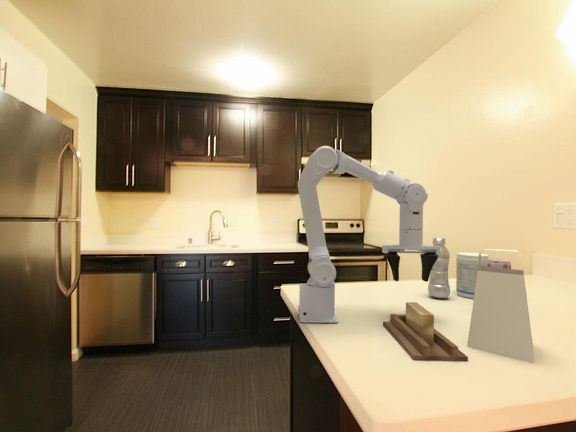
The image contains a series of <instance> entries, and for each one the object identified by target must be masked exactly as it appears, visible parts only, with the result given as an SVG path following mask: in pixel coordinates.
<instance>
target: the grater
mask: <svg viewBox="0 0 576 432" xmlns="http://www.w3.org/2000/svg"><path fill="white" fill-rule="evenodd" d="M485 250H486V251H498V252H499V251H500V252H501V251H502V252H515V253H516V252H517V253H518V254H519V255H520V256H521V257H524V255H523V253H521V252H520V251H519V250H517V249H500V248H484V249H483V250H482V252H484V251H485ZM482 252H479V253H480V254H479V270H478V272H477V279H476V286H475V294H474V299H473V302H472V309H471V316H470V324H469V331H468V337H467V344H466V345H467V346H466V347H467V348H470V349H474V350H479V351H482V352H485V353H489V354H494V355H499V356H501V357H502V356H503V357H505V358H510V359H514V360H518V361H522V362H524V363H525V362H527V363H530V364H534V363H535V361H534V345H533V344H534V343H533V335H532V330H531V329H532V328H531V320H530V312H529V304H528V296H527V287H526V281H525V272H524V269H513V268H511V269H504V268H494V267H483V266H482V267H481V254H482Z"/></svg>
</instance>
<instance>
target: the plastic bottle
mask: <svg viewBox="0 0 576 432" xmlns="http://www.w3.org/2000/svg"><path fill="white" fill-rule="evenodd" d="M445 245H446V238H443V237H442V238H441V237H440V238H439V237H433V239H432V246H439V247H440V254H436V255H438V259H437V261H436V262H435V264H434V265H433V267H432V270H431V272H430V275H429V279H428V284H427V285H428V286H427V291H428V295H429V296H430V297H432V298H436V299H440V300H441V299H448V298H449V297H450V295H451V287H450V285H449V283H450V282H449V265H450V258H451V254H450V251H449V249H448V248H447V247H446V246H445Z"/></svg>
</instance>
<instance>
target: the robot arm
mask: <svg viewBox="0 0 576 432" xmlns="http://www.w3.org/2000/svg"><path fill="white" fill-rule="evenodd" d="M331 171H332V174H338V173H347V174H349V175H352V176H353V177H356V178H359V179H361V180H364V181H366V182H368V183H370V184H372V187H373V189H374V191H376V192H378V193H381V194H383V195H385V196H387V197H390V198H391V199H393V200H396V202H397V203H398V205H399V224H398V225H399V226H398V227H399V235H398V237H399V242H398V244H388V245H387V244H382V245H381V247H382V248H381V250H382V251H381V253H384V255H385V257H386V260H387V261H388V262H387V263H388V264H389V267H390V270H391V274H392V279H393V281H395V282H399V281H400V271H399V270H400V260H401V256H400V255H399V254H420V260H421V261H420V262H421V280H422V282H426V283H427V282H428V283H429V279H430V272H431V270H432V267H433V265H434V264H435V262H436V261H437V259H438V255H436V254H440V247H439V246H433V245H423V243H424V241H423V238H424V237H423V233H424V231H423V229H424V228H423V227H424V224H423V223H424V204H425V203H426V202H427V200H428V197H429V194H428V193H427V191H426V189H425V188H424V186H423V185H422V184H420V183H411V182H410V181H411V180H410V179H408V178H405V179H404V178H402V177H400V176H398V175H396V174H395V172H394V170H391V169H390V170H385V169H384V170H381V171H377V170H375V169H373V168H372V167H370V166H368V165H366V164H364V163H362V162H360V161H359V160H357V159H355V158H353V157H351V156H349V155H348V154H346V153H345V152H343V151H341V150H339V149H335V148H333V147H332V146H329V145H322V146H320V147H317V148H316V150H315V151H314V152H313V153H312V154H311V155H310V156H309V157H308V159H307V161H306V163H305V165H304V167H303V170H302V172H301V174H300V176H299V178H298V181H297V190H298V195H299V196H298V197H299V202H300V207H301V213H302V218H303V223H304V229H305V235H306V241H307V247H308V263H307V273H308V274H309V275H310V277H309V278H308V280H307V281H306V283H299V299H298V300H299V301H298V303H299V304H298V306H297V312H298V313H299V322H300V323H313V324H314V323H318V324H320V323H323V324H325V323H327V324H331V323H332V324H337V323H339V320H338V318H337V316H336V314H335V306H336V305H335V302H336V301H335V300H336V299H335V294H336V291H335V290H336V283H335V280H336V278H337V269H336V267H335V265H334V264H333V262H332V261H331V256H330V253H329V250H328V247H327V242H326V241H327V240H326V235H325V230H324V224H323V220H322V212H321V207H320V202H319V197H318V196H319V195H318V190H317V186H318V185H319V183H320V182H321V180H322V179H323V178H324V177H325V176H326V175H328V174H329V173H330V172H331Z"/></svg>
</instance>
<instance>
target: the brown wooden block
mask: <svg viewBox="0 0 576 432" xmlns="http://www.w3.org/2000/svg"><path fill="white" fill-rule="evenodd" d="M405 314H406V325H407V326H408V327H409V328H411V329H412V330H413V331H414V332H415V333H416V334H417V335H418V336H419V337H420V338H422V339H423V340H424V341H425V342H426V343H427V344H428V345H434V329H435V328H434V327H435V315H434V314H433V313H432V312H430V311H429V310H427V308H425V307H424V306H422V305H421V304H419V302H414V301H413V302H411V301H409V302H408V301H406V302H405Z"/></svg>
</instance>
